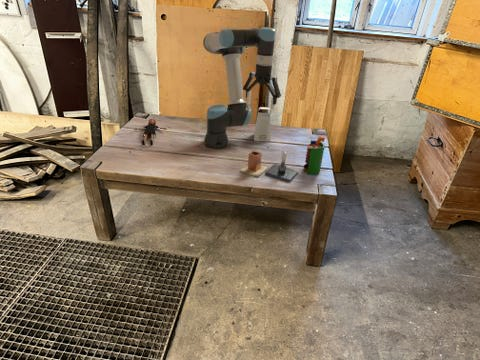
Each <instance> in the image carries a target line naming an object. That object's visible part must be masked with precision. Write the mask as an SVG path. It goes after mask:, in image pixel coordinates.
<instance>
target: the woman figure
mask: <svg viewBox="0 0 480 360" xmlns="http://www.w3.org/2000/svg"><path fill="white" fill-rule="evenodd" d="M156 121H157V120H155V119H154V118H150V119H148V122H147V125H145V126H144V127H138V128H137V127H135V128H133V130H134V131H137V130H139V131H141V130H140V129H143V128H146V129H143V130H144V132H143V135H142V138H143V137H144V138H143V139H141V145H142V146H143V145H145V146H146V142H147V137H148V135H149V133H151V134H150V139H149V144H150V146H151V145H152V146H153V144H154V141H155V138H154V134H155V136H156V135H157V134H156V129H157V128H160V129H163V130H165V131H167V127H159V126H158V125H157V122H156ZM155 127H156V128H155ZM154 128H155V129H154ZM160 129H159V130H160ZM144 134H145V136H144Z"/></svg>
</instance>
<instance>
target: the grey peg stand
mask: <svg viewBox="0 0 480 360" xmlns="http://www.w3.org/2000/svg"><path fill="white" fill-rule="evenodd" d="M286 157H287V152H286V151H282V154H281V162H280V164H277V163H273V164H272V165H271V166H270V167H268V169H267V170H266V171H265V172H264V174H265V175H266V176H270V177H272V178H274V179H275V178H276V179H279V180H282V181H285V182H288V183H291V182H292V180H293V179H294V178H295V177H296V176H297V175H298V174H299V170H297V169H293V168H289V167H287V165H286V159H287V158H286Z"/></svg>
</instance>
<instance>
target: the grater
mask: <svg viewBox="0 0 480 360" xmlns="http://www.w3.org/2000/svg"><path fill="white" fill-rule="evenodd" d="M270 108H271V107H266V106H265V107H264V106H260V107H258V112H257V116H256V117H257V118H256V123H255V128H254V133H253V140H254V142H270V143H271V135H272V134H271V112H272V111H270ZM260 110H269V112H259V111H260Z"/></svg>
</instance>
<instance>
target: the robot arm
mask: <svg viewBox="0 0 480 360" xmlns="http://www.w3.org/2000/svg"><path fill="white" fill-rule="evenodd" d="M275 41H276V30H275V28H273V27H267V26H265V27H264V26H263V27H260V28H255V27H254V28H251V29H250V28H249V29H247V28H246V29H237V28H236V29H235V28H234V29H232V28H231V29H229V28H225V29H221V30H220V31H219V32H218V31H217V32H211V33H210V32H209V33H208V34H206V35H205V36H204V38H203V40H202V44H203V48H204V49H205V50H206V52H208V53H210V54H213V55H221V56H222V57H221V58H222V59H223V60H224V61H225V73H226V80H227V81H226V82H227V88H228V90H227V91H228V99H229V100H228V101H229V102H228V104H227V106H226V105H225V104H214V105H211V106H209V107H208V108H207V111H206V134H205V136H204V138H203V139H204V142H203V144H204V146H205V147H207V148H208V149H214V150H215V149H216V150H217V149H218V150H221V149H224V148H227V147H228V146H229V145H230V141H229V137H228V133H227V128H234V127H235V128H236V127H244V126H247V125H249V124H250V121H251V120H252V109H251V106H250V105H251V104H252V103H251V101H252V89H253V88H254V87H255V86H256V85H257V84H259V85H264V86H266V87H267V89H268V91H269V93H270V94H271V100H270V107H269V108H270V110H269V112H270V111H271V112H273V111H274V110H275V106H276V104H277V101H278V99H279V98H280V97H282V94H281V90H280V88H279V84H278V76H272V69H273V65H272V64H273V60H274V58H273V57H274V48H275ZM247 47H248V48H249V47H252V48H253V47H255V48H257V50H256V64H255V71H251V72H249V73H248V78H247V80H246V82H245V83H244V85H243V80H242V79H243V78H242V68H241V61H240V60H241V58H242V56H243V53H244V52H245V48H247ZM254 78H255V80H253V79H254ZM252 81H253V82H252ZM251 82H252V83H251ZM244 91H245V98H246V100H245V98H244Z"/></svg>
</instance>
